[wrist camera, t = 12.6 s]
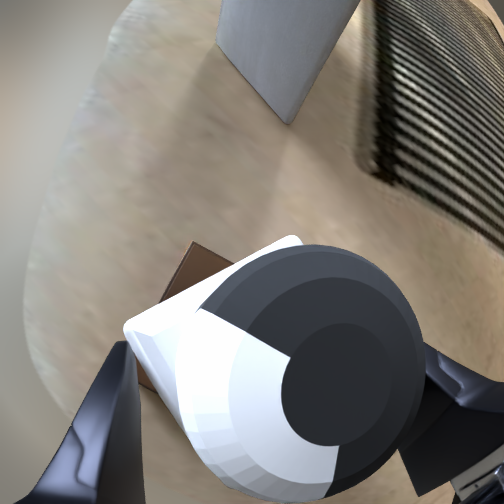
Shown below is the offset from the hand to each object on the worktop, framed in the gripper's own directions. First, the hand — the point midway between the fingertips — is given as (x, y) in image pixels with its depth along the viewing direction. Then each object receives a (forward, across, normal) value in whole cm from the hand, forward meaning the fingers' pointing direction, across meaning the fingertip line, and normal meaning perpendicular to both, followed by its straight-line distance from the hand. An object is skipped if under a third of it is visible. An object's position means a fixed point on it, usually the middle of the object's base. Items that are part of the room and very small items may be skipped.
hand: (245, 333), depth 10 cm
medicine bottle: (+4, 0, +6) cm, 8 cm away
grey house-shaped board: (+23, -6, -9) cm, 25 cm away
